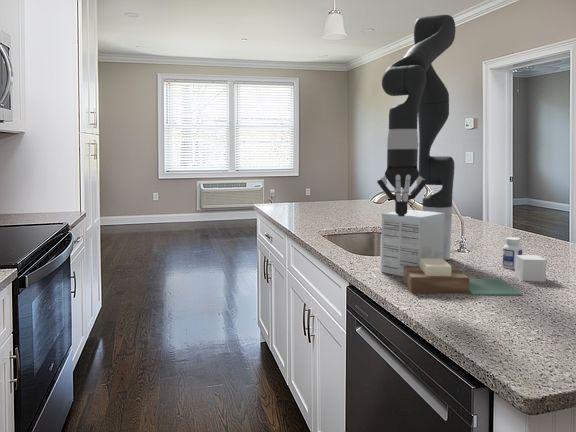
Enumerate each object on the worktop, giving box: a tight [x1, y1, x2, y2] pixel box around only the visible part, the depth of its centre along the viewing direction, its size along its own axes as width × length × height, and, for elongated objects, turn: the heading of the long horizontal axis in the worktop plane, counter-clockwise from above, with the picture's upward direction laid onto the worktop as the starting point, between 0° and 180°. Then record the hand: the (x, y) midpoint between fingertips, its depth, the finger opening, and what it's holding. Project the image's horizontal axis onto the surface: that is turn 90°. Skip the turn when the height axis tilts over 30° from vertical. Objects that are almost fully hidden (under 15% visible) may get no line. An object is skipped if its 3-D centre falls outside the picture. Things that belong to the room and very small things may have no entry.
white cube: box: [514, 254, 548, 282], centre depth 136 cm, size 6×6×6 cm
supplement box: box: [380, 209, 445, 277], centre depth 144 cm, size 13×13×18 cm
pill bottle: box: [502, 237, 523, 270], centre depth 149 cm, size 5×5×9 cm
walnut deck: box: [402, 266, 470, 295], centre depth 128 cm, size 12×14×4 cm
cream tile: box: [420, 259, 453, 276], centre depth 128 cm, size 9×6×2 cm, turn 176°
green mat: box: [469, 278, 523, 296], centre depth 128 cm, size 14×12×1 cm
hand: (400, 215), depth 127 cm, fingers closed
